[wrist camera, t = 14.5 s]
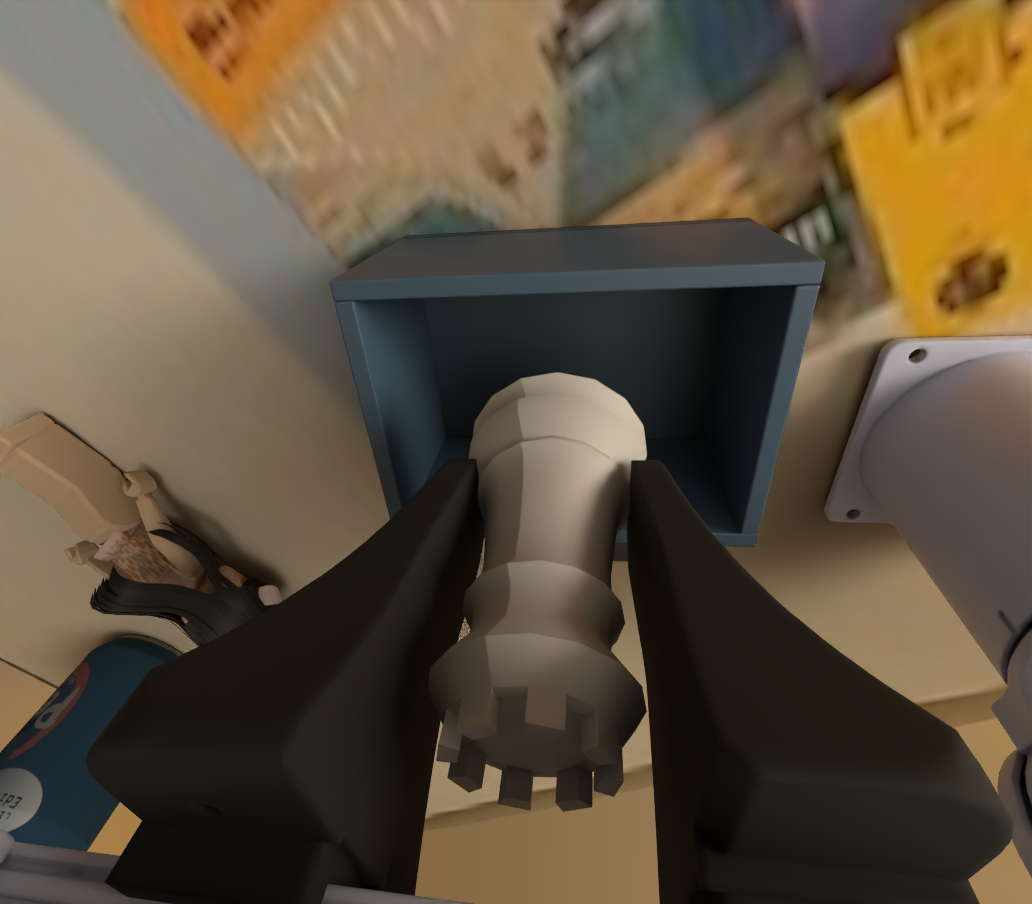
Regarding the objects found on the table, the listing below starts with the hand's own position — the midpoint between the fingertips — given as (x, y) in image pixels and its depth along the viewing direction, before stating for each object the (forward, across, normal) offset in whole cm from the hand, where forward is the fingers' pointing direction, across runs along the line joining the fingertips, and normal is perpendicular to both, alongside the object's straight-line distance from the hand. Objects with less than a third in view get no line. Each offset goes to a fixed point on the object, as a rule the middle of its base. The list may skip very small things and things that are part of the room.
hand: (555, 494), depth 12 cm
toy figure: (+9, +21, +10) cm, 25 cm away
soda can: (+9, +29, +23) cm, 38 cm away
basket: (+8, 0, +1) cm, 8 cm away
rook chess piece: (+2, 0, 0) cm, 2 cm away
